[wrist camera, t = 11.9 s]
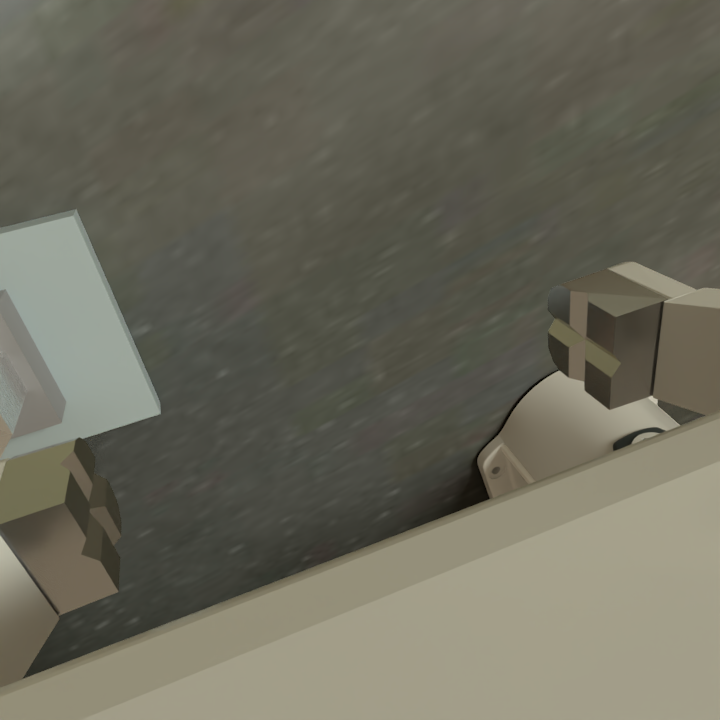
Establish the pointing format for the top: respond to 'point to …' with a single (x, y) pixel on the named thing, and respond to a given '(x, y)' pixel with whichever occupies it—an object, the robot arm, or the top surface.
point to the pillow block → (66, 337)
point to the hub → (9, 399)
